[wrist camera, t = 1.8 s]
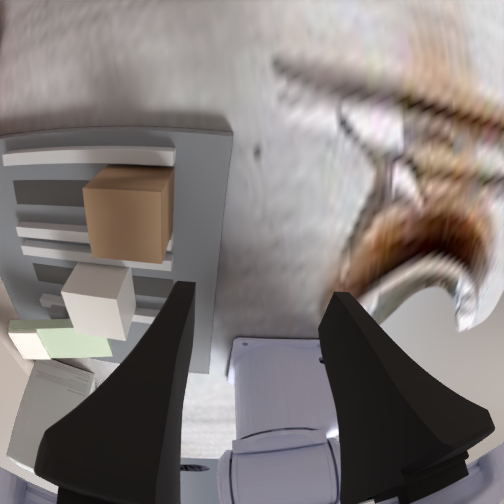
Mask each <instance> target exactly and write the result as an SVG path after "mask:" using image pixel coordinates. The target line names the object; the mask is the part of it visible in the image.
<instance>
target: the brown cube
mask: <svg viewBox="0 0 504 504" xmlns="http://www.w3.org/2000/svg"><path fill="white" fill-rule="evenodd" d="M174 172H175V167H162V166H142V165H113V164H108V165H107V166H106V167H105V168H104V169H103V170H102V171H100V172H99V173H98V174H97V175H96V176H95V177H94V178H93V179H92V180H91V181H90V182H89V183H88V184H86V185H85V186H84V187H83V188H82V189H83V198H84V206H85V214H86V221H87V228H88V234H89V240H90V246H91V252H92V257H96V258H105V259H115V260H125V261H134V262H145V263H155V264H162V263H163V260H164V256H165V253H166V250H167V246H168V243H169V240H170V237H171V234H172V231H173V197H174Z"/></svg>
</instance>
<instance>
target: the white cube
mask: <svg viewBox="0 0 504 504" xmlns="http://www.w3.org/2000/svg"><path fill="white" fill-rule="evenodd" d="M61 294H62V297H63V299H64V302H65V305H66V308H67V311H68V313H69V316H70V319H71V321H72V324H73V326H74V329H75V331H76V333H81V334H87V335H92V336H98V337H103V338H109V339H116V340H122V341H126V340H127V336H128V333H129V329H130V326H131V322H132V319H133V315H134V312H135V309H136V300H135V293H134V286H133V279H132V271H131V267H123V266H114V265H105V264H96V263H87V262H79V261H78V263H77V265H76V266H75V268H74V270H73V271H72V273H71V275H70V276H69V278H68V280H67V281H66V283H65V285H64V287H63V288H62V290H61Z"/></svg>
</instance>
